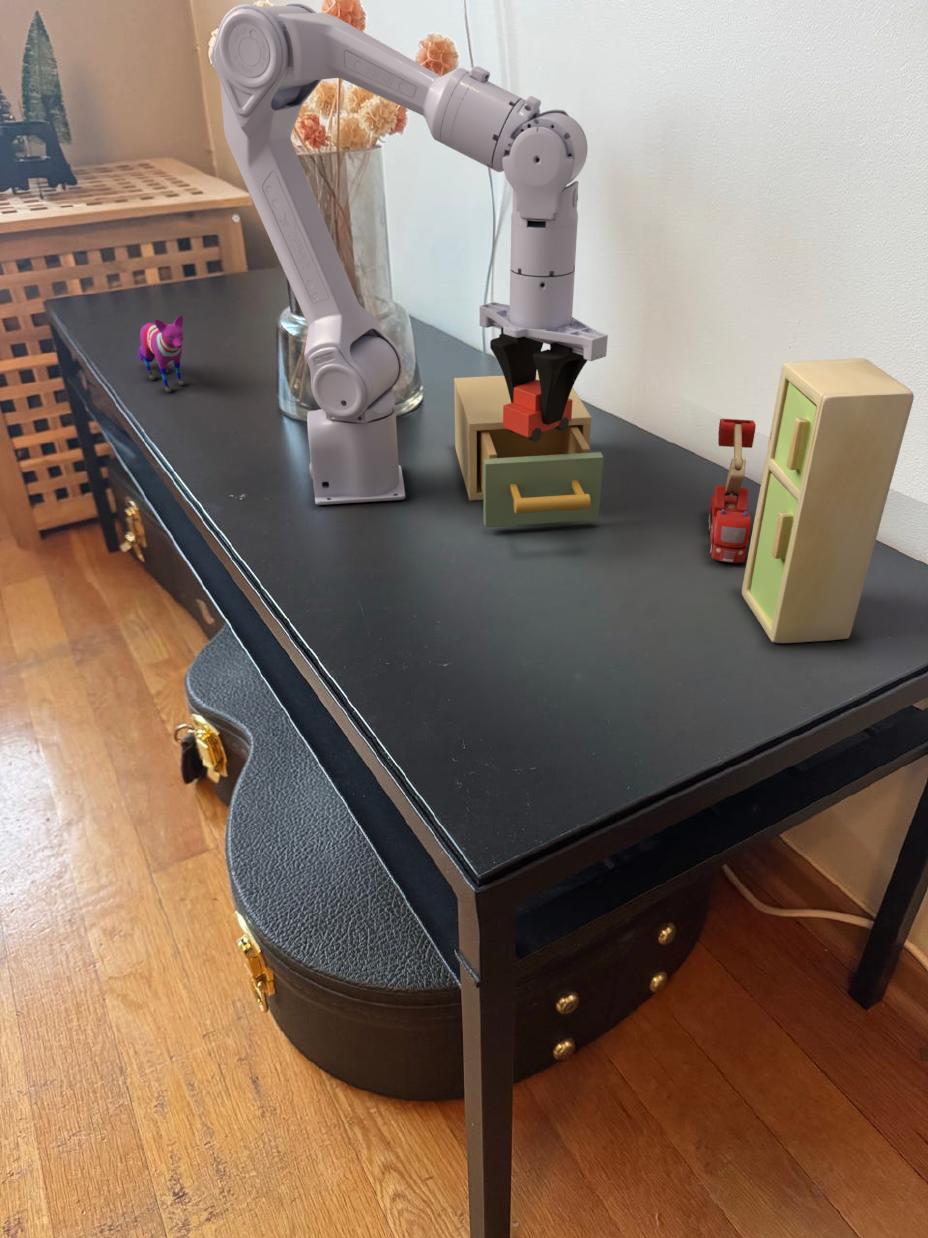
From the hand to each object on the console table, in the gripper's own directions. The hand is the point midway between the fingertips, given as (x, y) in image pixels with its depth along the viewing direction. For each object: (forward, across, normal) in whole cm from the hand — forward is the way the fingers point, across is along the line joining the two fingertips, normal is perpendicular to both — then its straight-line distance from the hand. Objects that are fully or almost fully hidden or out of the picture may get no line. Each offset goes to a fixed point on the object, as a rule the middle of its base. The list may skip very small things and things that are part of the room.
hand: (537, 415), depth 88 cm
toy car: (+2, 0, 0) cm, 2 cm away
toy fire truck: (+11, +16, +11) cm, 22 cm away
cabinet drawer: (+9, +1, 0) cm, 10 cm away
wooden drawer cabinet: (+10, -8, +6) cm, 14 cm away
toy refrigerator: (+11, +28, +2) cm, 30 cm away
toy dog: (+11, -62, -10) cm, 64 cm away
